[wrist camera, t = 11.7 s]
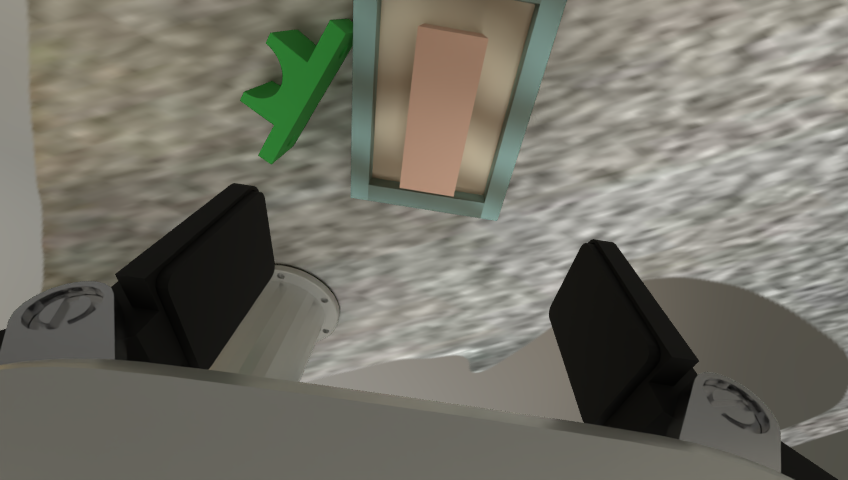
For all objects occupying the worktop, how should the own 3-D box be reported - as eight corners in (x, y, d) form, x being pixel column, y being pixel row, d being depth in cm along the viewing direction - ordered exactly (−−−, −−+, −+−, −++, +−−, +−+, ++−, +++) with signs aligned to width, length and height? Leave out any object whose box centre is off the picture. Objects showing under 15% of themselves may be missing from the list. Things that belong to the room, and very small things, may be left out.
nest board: (494, 207, 31) (497, 220, 29) (357, 185, 31) (350, 197, 29) (562, -20, 21) (574, -23, 19) (363, -55, 21) (354, -62, 19)
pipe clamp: (317, -11, 23) (291, -16, 19) (362, 30, 24) (346, 33, 20) (254, 117, 28) (224, 133, 24) (293, 145, 29) (270, 165, 26)
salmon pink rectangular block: (482, 33, 23) (488, 38, 18) (453, 169, 28) (453, 196, 24) (424, 23, 22) (417, 26, 18) (407, 161, 28) (399, 187, 24)
